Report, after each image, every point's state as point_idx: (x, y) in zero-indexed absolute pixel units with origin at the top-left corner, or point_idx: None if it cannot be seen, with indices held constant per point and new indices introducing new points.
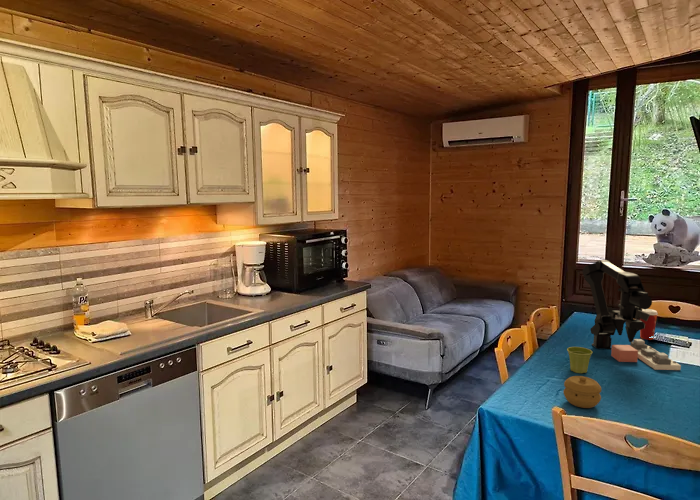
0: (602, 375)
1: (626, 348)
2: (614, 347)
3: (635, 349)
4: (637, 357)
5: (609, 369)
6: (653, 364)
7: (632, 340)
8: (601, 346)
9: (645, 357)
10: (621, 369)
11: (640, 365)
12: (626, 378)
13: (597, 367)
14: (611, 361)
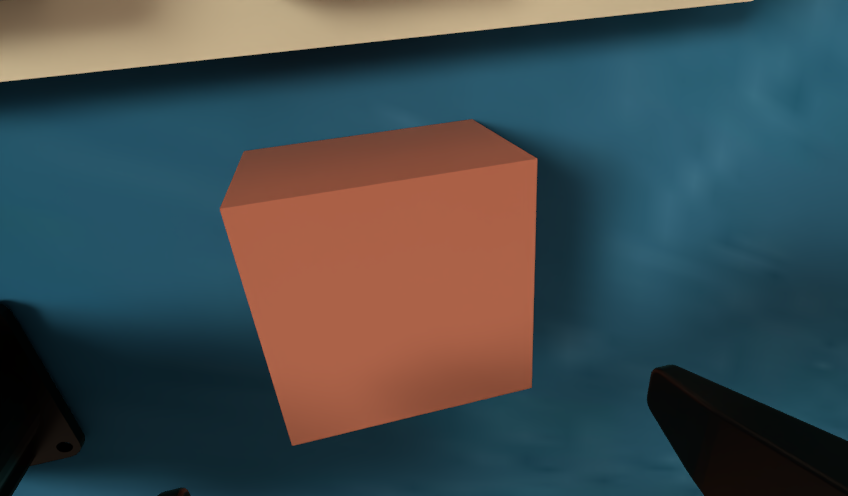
0: None
1: (437, 298)
2: (374, 415)
3: (475, 179)
4: (494, 133)
5: None
6: (708, 4)
7: (707, 384)
8: (32, 430)
9: (482, 6)
10: (660, 322)
11: (576, 122)
12: (812, 325)
13: (609, 459)
14: None
